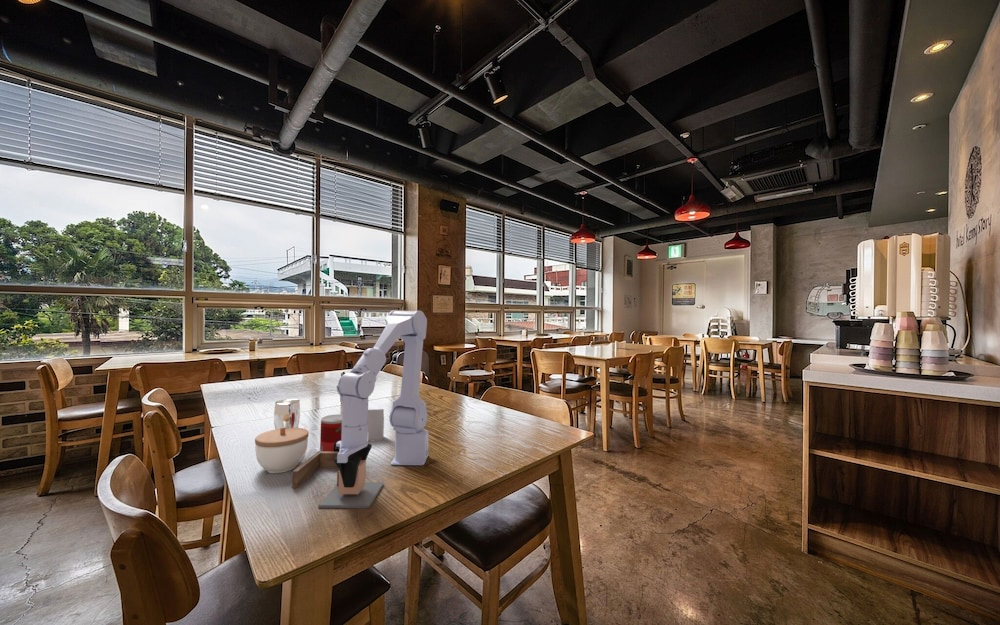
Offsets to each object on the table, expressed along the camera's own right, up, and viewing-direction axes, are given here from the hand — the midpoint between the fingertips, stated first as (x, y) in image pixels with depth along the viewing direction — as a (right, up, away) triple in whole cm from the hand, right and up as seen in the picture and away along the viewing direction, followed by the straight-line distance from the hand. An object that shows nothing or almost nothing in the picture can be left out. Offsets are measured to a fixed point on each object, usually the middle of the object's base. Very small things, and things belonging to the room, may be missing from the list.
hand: (353, 481), depth 85 cm
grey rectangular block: (-9, -4, +39) cm, 40 cm away
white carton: (-32, -3, +27) cm, 42 cm away
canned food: (-16, -3, +25) cm, 29 cm away
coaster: (0, -3, 0) cm, 3 cm away
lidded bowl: (-25, -3, +14) cm, 29 cm away
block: (0, -2, 0) cm, 2 cm away
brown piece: (-10, -3, +10) cm, 15 cm away
